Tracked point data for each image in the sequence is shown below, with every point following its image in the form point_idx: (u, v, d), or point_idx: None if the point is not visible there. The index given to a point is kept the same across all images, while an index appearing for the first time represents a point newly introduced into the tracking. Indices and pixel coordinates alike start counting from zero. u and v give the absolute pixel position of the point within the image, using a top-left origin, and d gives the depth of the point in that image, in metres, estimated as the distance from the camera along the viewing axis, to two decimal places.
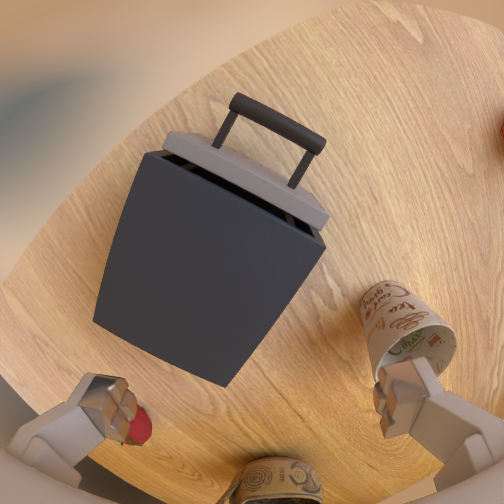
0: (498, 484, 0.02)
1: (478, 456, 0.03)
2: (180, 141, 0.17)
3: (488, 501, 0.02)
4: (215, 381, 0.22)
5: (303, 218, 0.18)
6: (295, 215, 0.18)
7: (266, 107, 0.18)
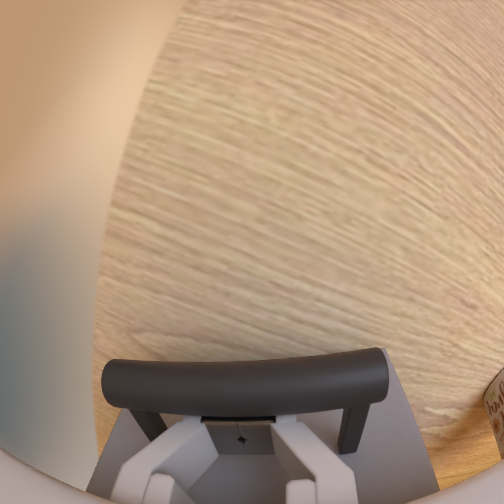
0: (498, 484, 0.02)
1: None
2: None
3: (488, 501, 0.02)
4: None
5: None
6: None
7: (180, 385, 0.06)
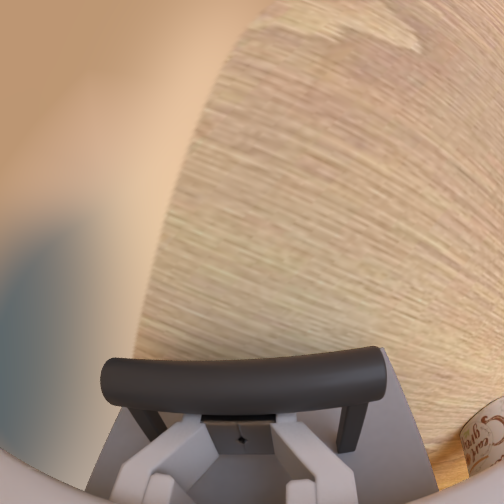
0: (498, 484, 0.02)
1: None
2: None
3: (488, 501, 0.02)
4: None
5: None
6: None
7: (179, 383, 0.06)
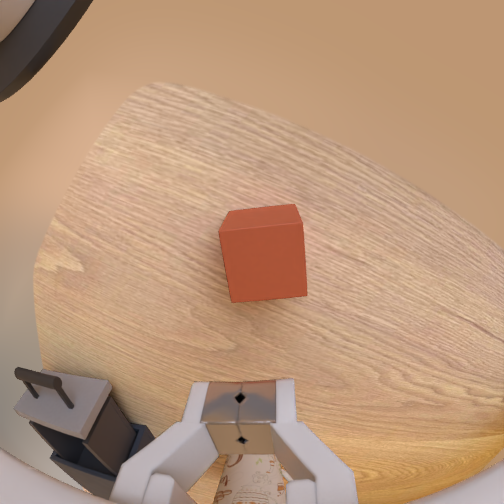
0: (498, 484, 0.02)
1: None
2: (18, 412, 0.20)
3: (488, 501, 0.02)
4: None
5: (73, 436, 0.19)
6: (70, 435, 0.19)
7: (25, 374, 0.20)
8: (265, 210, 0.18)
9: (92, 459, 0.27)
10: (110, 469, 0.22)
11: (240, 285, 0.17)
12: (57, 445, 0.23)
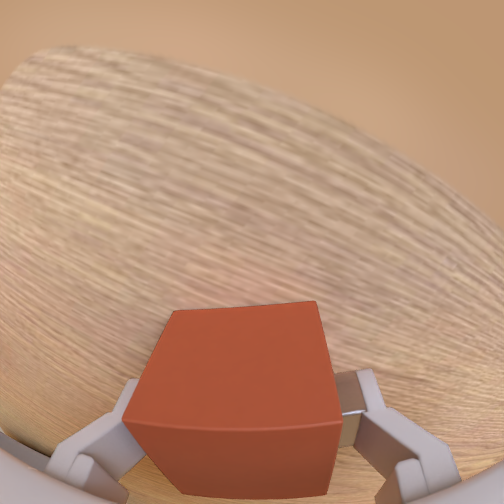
0: (498, 484, 0.02)
1: (409, 484, 0.03)
2: None
3: (488, 501, 0.02)
4: None
5: None
6: None
7: None
8: (247, 326, 0.08)
9: None
10: None
11: (192, 485, 0.06)
12: None
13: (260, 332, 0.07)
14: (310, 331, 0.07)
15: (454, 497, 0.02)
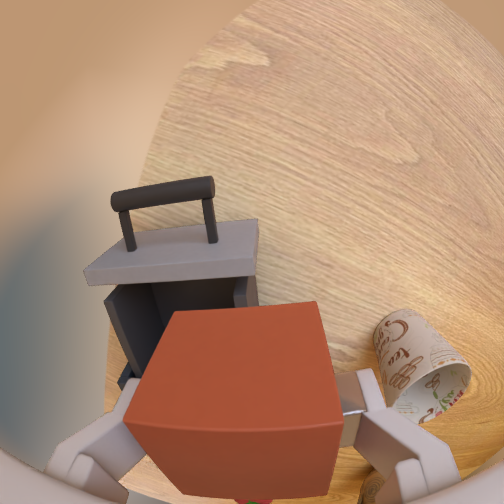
0: (498, 484, 0.02)
1: (409, 484, 0.03)
2: (94, 273, 0.17)
3: (488, 501, 0.02)
4: None
5: (229, 274, 0.16)
6: (220, 276, 0.16)
7: (140, 189, 0.17)
8: (248, 326, 0.08)
9: None
10: None
11: (193, 486, 0.06)
12: (138, 353, 0.20)
13: (261, 333, 0.07)
14: (311, 332, 0.07)
15: (454, 497, 0.02)
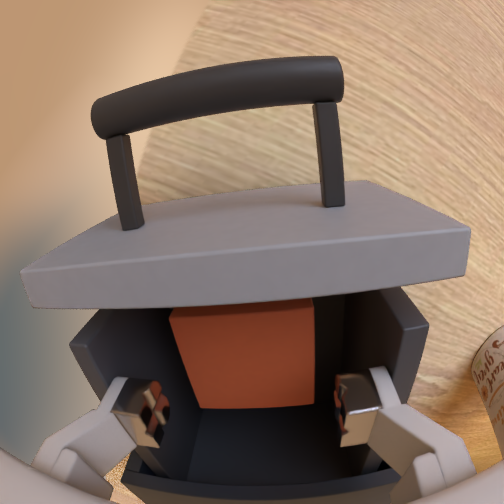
0: (498, 484, 0.02)
1: (427, 478, 0.03)
2: (41, 280, 0.06)
3: (488, 501, 0.02)
4: None
5: (418, 277, 0.05)
6: (395, 283, 0.05)
7: (163, 79, 0.07)
8: None
9: (230, 459, 0.12)
10: None
11: (211, 391, 0.10)
12: None
13: None
14: None
15: (454, 497, 0.02)
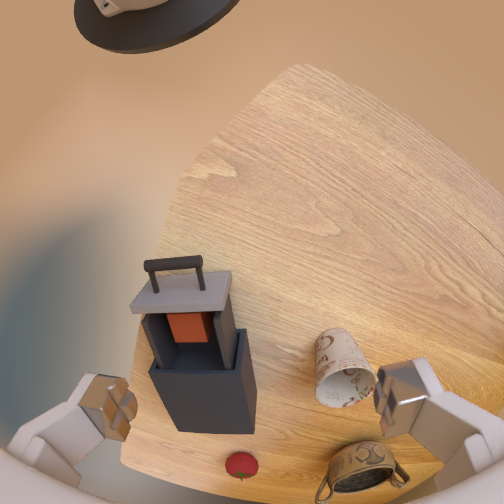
0: (498, 484, 0.02)
1: (478, 456, 0.03)
2: (136, 307, 0.32)
3: (488, 501, 0.02)
4: (247, 433, 0.39)
5: (210, 310, 0.31)
6: (206, 310, 0.31)
7: (161, 261, 0.32)
8: None
9: (187, 369, 0.38)
10: (225, 357, 0.34)
11: (178, 335, 0.36)
12: (160, 351, 0.35)
13: None
14: None
15: (454, 497, 0.02)
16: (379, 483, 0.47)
